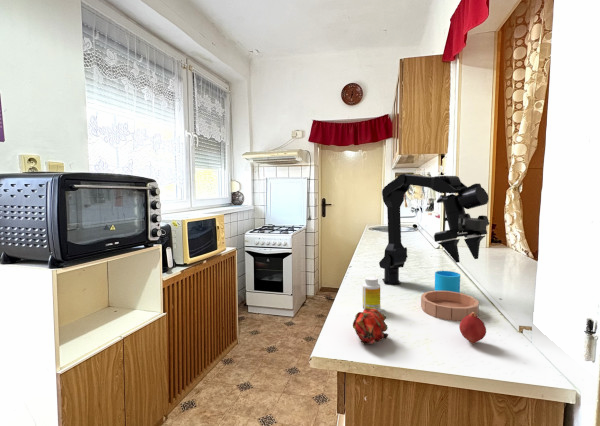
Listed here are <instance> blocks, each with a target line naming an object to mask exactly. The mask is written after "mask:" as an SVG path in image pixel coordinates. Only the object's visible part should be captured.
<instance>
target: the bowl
mask: <svg viewBox="0 0 600 426" xmlns="http://www.w3.org/2000/svg"><path fill="white" fill-rule="evenodd" d="M420 308H421V309H422V311H423V312H424V313H425V314H427V315H429V316H431V317H433V318H436V319H439V320H443V321H447V322H448V321H449V322H461V321H462V319H463V318H464V317H466V316H467V315H470V314H471V313H472V312H474V313H475V314H476V316H477V317H478V318H479V313H480V301H479V300H478V299H477V298H475V297H473V296H471V295H468V294H465V293H462V292H460V293H458V292H452V291H435V290H430V291H425V292H423V294H421V296H420Z"/></svg>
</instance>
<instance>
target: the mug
mask: <svg viewBox="0 0 600 426" xmlns="http://www.w3.org/2000/svg"><path fill="white" fill-rule="evenodd" d="M434 291H452V292H458V293H461V273H458V272H456V271H451V270H437V271H434Z"/></svg>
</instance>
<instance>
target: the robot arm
mask: <svg viewBox="0 0 600 426" xmlns="http://www.w3.org/2000/svg"><path fill="white" fill-rule="evenodd" d="M410 186H414V187H415V186H417V187H422V188H429V189H431V190H432V191H434V192H436V193H439V194H440V195H439V198H437V200H436V203H438V204H440V203H442V204H443V207H444V212H445V217H444V218H443V221H444V222H447V225H448V229H446V230H442V231H438V232H435V233H434V235H433V239H434V242H438V243H437V244H438V245H440V246H441V247H442V248H443V249H444V250H445V251H446V252H447V253H448V255H449V256H450V257H451V258H452V260H453V261H454V262H455V263H456V264H457V263H460V262H461V261H460V253H459V248H458V244H459V242H460V238H461V237H464V239H463V241H464V242H465V244H466V246H467V248H468V250H469V252H470V254H471V256H472V257H473V259H474V260H478V259H479V255H480V254H479V253H480V245H481V241H482V240H483V239H484V238H485V237H486V235H487V234H488V231H487V227H488V226H490V220H489V218H488V216H487V215H483V214H482V215H478V216H477V217H471V214H470V213H466V210H471V209H474V208H478V207H482V206H485V205H488V203H489V194H488V192H487V191H486V190H485V188H484V187H483V186H481V183H474V184H471V185H470V186H469V185H468V186H467V185H465V184H464V183H463V182H462V181H461V179H460V177H458V175H457V176H456V175H437V176H427V175H418V174H412V173H401V174H399V175H398V176H397V177H396V178H395V179H393V180H391V181H390V182H388V184H387V185H384V187H383V188H382V190H381V196H382V202H383V203H384V204H385V206H386V209H387V210H386V211H387V212H386V213H387V239H388V240H387V241H388V243H387V245H386V247H385V248H384V254H383V257H382V258H381V259H380V261H379V262H378V264H379V265H378V266H379V268H380V269H383V270H384V275H383V276H384V277H383V278H382V282H383V283H384V285H402V282H401V281H400V277H399V276H400V268H404V266H405V263H406V261H407V258H408V248H407V247H404V245H403V244H402V227H401V225H402V224H401V207H402V204H403V202H404V201H405V194H406V193H407V192H408V191H409V189H410ZM446 194H448V195H446ZM456 194H457V195H456ZM465 209H466V210H465ZM459 237H460V238H459Z"/></svg>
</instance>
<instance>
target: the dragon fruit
mask: <svg viewBox="0 0 600 426" xmlns="http://www.w3.org/2000/svg"><path fill="white" fill-rule="evenodd" d="M354 317H355V318H354V320H353V322H352V328H353V329H354V331H355V333H356V335H357V336H358V338H359V340H360V342H361V343H362V344H363V345H364V346H366V345H367V344H368V345H369V344H370V345H372V344H373V345H374V344H376V342H380V341H382V340H386V339H387V338H388V337H389V334H388V333H386V331H387V330H388V325H387V324H386V322H385V321H386V319H387V317H386V314H385V313H382V311H381V312H380V310H379V311H378V309H374V308H372V309H369V308H365V309H363V310H362V311H358V312H357V313H356V314H355V316H354Z"/></svg>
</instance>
